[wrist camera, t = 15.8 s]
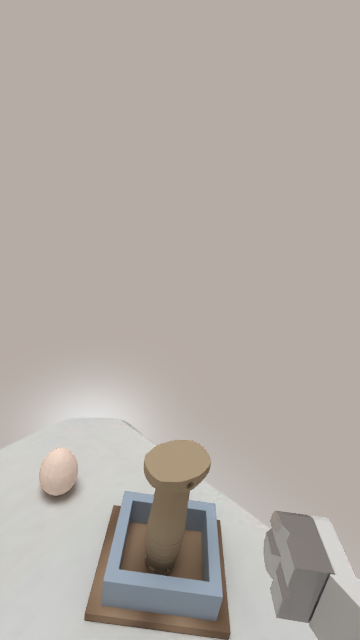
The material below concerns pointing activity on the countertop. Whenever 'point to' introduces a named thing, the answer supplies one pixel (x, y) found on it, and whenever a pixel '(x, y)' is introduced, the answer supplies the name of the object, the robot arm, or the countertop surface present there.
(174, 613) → the square frame
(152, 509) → the handle
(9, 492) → the countertop surface
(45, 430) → the countertop surface
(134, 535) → the board
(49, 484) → the egg
